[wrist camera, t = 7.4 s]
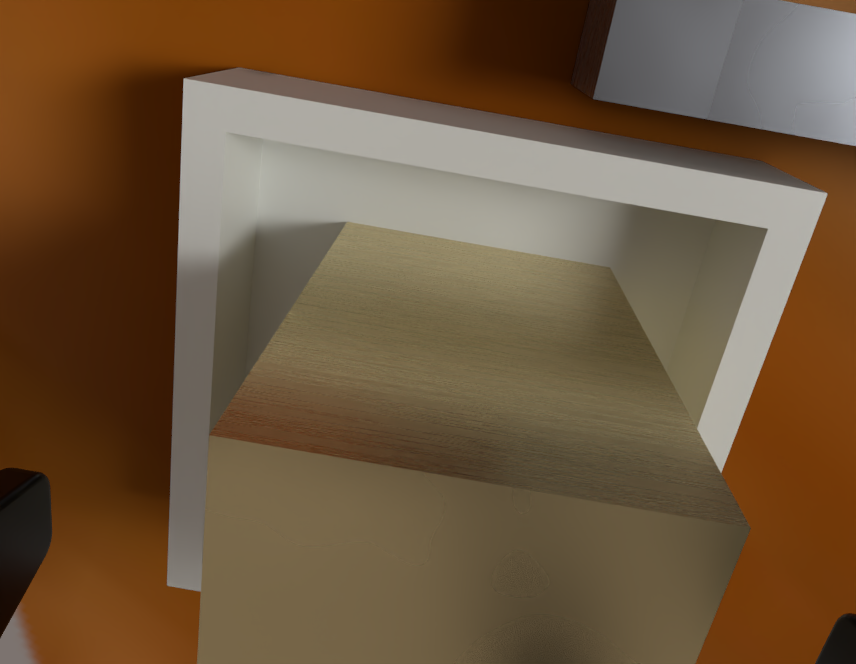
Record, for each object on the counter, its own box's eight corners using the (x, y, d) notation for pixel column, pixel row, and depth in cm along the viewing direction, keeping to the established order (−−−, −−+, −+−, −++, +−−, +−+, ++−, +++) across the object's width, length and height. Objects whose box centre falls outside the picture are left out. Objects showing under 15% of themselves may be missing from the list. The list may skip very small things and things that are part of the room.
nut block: (550, 487, 14) (610, 870, 8) (319, 447, 14) (189, 799, 8) (610, 267, 13) (749, 528, 6) (347, 221, 12) (209, 434, 6)
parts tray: (621, 573, 16) (646, 669, 13) (212, 502, 16) (166, 585, 13) (761, 160, 12) (827, 193, 10) (239, 67, 12) (183, 78, 10)
